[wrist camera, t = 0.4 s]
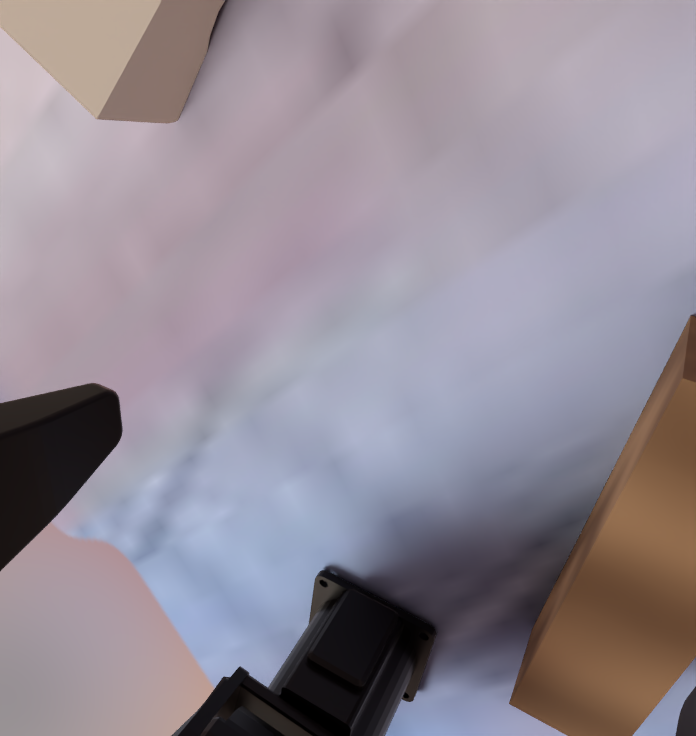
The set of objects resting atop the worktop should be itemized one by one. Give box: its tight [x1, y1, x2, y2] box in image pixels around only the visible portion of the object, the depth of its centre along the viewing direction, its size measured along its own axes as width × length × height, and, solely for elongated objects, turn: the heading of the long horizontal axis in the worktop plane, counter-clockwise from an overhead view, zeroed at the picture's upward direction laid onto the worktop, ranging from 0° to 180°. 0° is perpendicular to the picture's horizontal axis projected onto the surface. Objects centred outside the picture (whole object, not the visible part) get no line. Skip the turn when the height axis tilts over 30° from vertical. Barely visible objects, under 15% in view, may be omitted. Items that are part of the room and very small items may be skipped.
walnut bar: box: [509, 316, 696, 736], centre depth 21 cm, size 16×4×4 cm, turn 172°
